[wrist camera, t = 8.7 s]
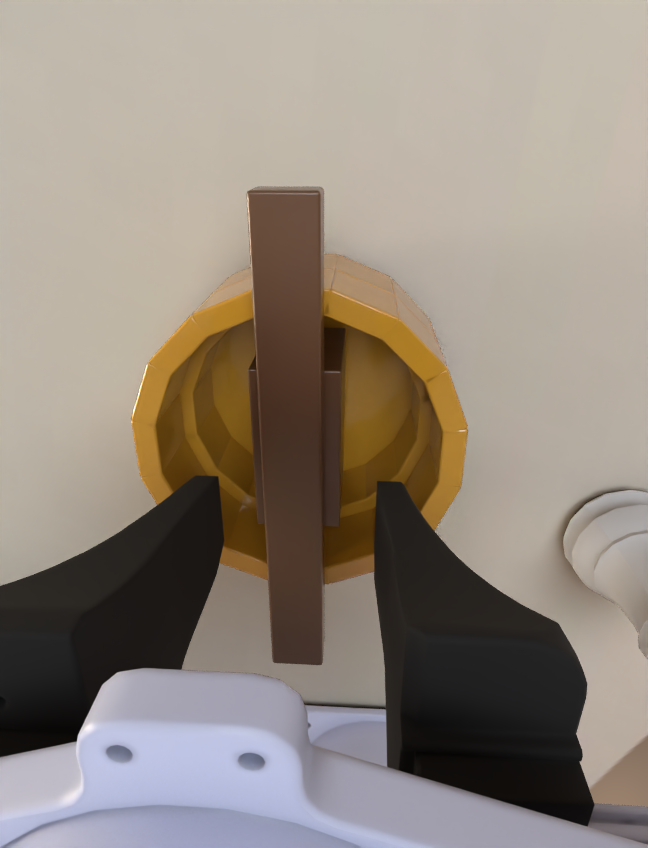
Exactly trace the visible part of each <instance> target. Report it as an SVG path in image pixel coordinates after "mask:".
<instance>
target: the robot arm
mask: <svg viewBox="0 0 648 848" xmlns="http://www.w3.org/2000/svg"><path fill="white" fill-rule="evenodd" d="M223 545H224V531H223V520H222V509H221V498H220V488H219V477H218V476H197V475H195V476H194V477H193V478H191V479H190V480H189V481H187V482H186V483H185V484H183V485H182V486H181V487H180V488H178V489H177V490H176V491H175V492H174V493H172V494H171V495H170V496H169V497H167V498H166V499H165V500H163V501H162V502H161V503H160V504H158V505H157V506H156V507H154V508H153V509H152V510H150V511H149V512H148V513H146V514H145V515H143V516H142V517H141V518H139V519H138V520H136V521H135V522H133V523H132V524H131V525H129V526H128V527H126V528H125V529H123V530H122V531H120V532H119V533H117V534H116V535H114V536H112V537H111V538H109V539H107V540H106V541H104V542H102V543H100V544H98V545H97V546H95V547H93V548H91V549H89V550H88V551H86V552H84V553H82V554H79V555H77V556H75V557H73V558H71V559H69V560H67V561H64V562H62V563H60V564H58V565H56V566H54V567H51V568H49V569H46V570H44V571H41V572H39V573H36V574H34V575H31V576H28V577H26V578H23V579H20V580H17V581H14V582H11V583H8V584H5V585H2V586H0V848H648V807H645V806H629V805H612V804H595V803H594V802H593V799H592V796H591V793H590V791H589V788H588V785H587V782H586V779H585V776H584V773H583V771H582V768H581V765H580V762H579V761H581V760H582V757H583V756H582V749H581V746H580V744H579V741H578V738H577V735H576V732H577V729H578V725H579V721H580V718H581V714H582V711H583V707H584V703H585V700H586V693H587V681H586V678H585V675H584V672H583V669H582V666H581V664H580V662H579V659H578V657H577V655H576V653H575V651H574V650H573V648H572V646H571V644H570V642H569V641H568V639H567V637H566V636H565V634H564V632H563V631H562V629H561V627H560V626H559V624H558V623H557V622H555V621H553V620H551V619H549V618H547V617H545V616H543V615H541V614H539V613H537V612H535V611H533V610H531V609H529V608H527V607H525V606H523V605H521V604H520V603H518V602H516V601H515V600H513V599H512V598H510V597H508V596H507V595H505V594H503V593H502V592H500V591H499V590H497V589H496V588H495V587H493V586H492V585H490V584H489V583H488V582H486V581H485V580H484V579H482V578H481V577H480V576H478V575H477V574H476V573H475V572H473V571H472V570H471V569H470V568H469V567H467V566H466V565H465V564H464V563H463V562H462V561H461V560H460V559H459V558H458V557H457V556H456V555H455V554H454V553H453V552H452V551H451V550H450V549H449V548H448V547H447V546H446V544H445V543H444V542H443V541H442V540H441V539H440V538H439V536H438V535H437V534H436V533H435V531H434V530H433V529H432V528H431V526H430V525H429V523H428V522H427V521H426V519H425V518H424V517H423V515H422V514H421V512H420V511H419V509H418V508H417V506H416V505H415V503H414V502H413V500H412V498H411V497H410V495H409V493H408V491H407V489H406V487H405V485H404V484H403V483H402V482H395V481H377V492H376V515H375V538H374V580H375V589H376V597H377V605H378V613H379V620H380V628H381V636H382V644H383V652H384V664H385V691H386V709H369V708H349V707H330V706H311V705H304V703H303V700H302V698H301V695H300V694H299V693H297V692H296V691H295V690H293V689H292V688H290V687H289V686H288V685H286V684H285V683H284V682H282V681H281V680H280V679H277V678H272V677H268V676H264V675H260V674H256V673H236V672H215V671H195V670H181V669H182V665H183V662H184V658H185V655H186V652H187V649H188V647H189V644H190V641H191V638H192V636H193V633H194V631H195V628H196V626H197V623H198V621H199V618H200V616H201V613H202V610H203V608H204V605H205V603H206V600H207V598H208V595H209V593H210V590H211V587H212V585H213V582H214V579H215V577H216V574H217V570H218V566H219V562H220V558H221V554H222V549H223Z"/></svg>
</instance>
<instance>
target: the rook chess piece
mask: <svg viewBox="0 0 648 848" xmlns="http://www.w3.org/2000/svg"><path fill="white" fill-rule="evenodd" d="M563 543H564V553H565V557H566V558H567V559H568V561H569V562H570V564H571V565H572V566H573V568H574V571H575V572H576V574H577V575H578V576H579V578H580V579H581V581H582V582H583V583H584V584H585V585H586V586H587V587H588V588H589V589H591V590H592V591H594V592H596V593H598V594H600V595H602V596H603V597H604V598H605V599H607V600H609V601H611V602H613V603H615V604H617V605H618V606H619V607H620V609H621V610H622V611H623V612H624V614H625V615H626V616H627V617H628V619H629V620H630V621H631V623H632V624H633V625H634V627H635V628H636V630H637V632H638V643H639V649H640V650H641V652H642V653H643V654H644V656H645V657H646V658H647V659H648V492H642V491H635V490H623V491H617V492H612V493H606V494H603V495H601V496H599V497H597V498H595V499H593V500H591V501H589V502H587V503H586V504H585V505H584V506H583V507H582V508H581V509H580V510H579V511H578V512H577V513H576V514H575V515H574V516H573V518H572V519H571V520H570V522H569V525H568V527H567V530H566V532H565V535H564V537H563Z"/></svg>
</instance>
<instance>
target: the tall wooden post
mask: <svg viewBox="0 0 648 848" xmlns="http://www.w3.org/2000/svg"><path fill="white" fill-rule="evenodd" d="M247 210H248V228H249V246H250V264H251V282H252V300H253V318H254V336H255V354H256V355H255V357H254V359H253V361H252V363H251V365H250V367H249V369H248V381H249V397H250V413H251V429H252V445H253V461H254V477H255V493H256V509H257V522H258V524H265V534H266V552H267V569H268V587H269V605H270V623H271V641H272V659H273V662H274V663H286V664H307V665H322V663H323V652H324V639H325V554H324V526H337V527H338V526H339V525H340V511H341V495H342V479H343V463H344V403H345V337H346V330H345V328H324V190H323V188H322V187H256V188H254V189H251V190H249V191H248V192H247Z"/></svg>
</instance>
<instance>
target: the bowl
mask: <svg viewBox="0 0 648 848" xmlns="http://www.w3.org/2000/svg"><path fill="white" fill-rule="evenodd" d="M324 328H345V330H346V337H345V403H344V463H343V479H342V495H341V511H340V525H339V526H338V527H337V526H324V554H325V584H329V583H335V582H339V581H342V580H346V579H349V578H353V577H357V576H360V575H364V574H367V573H371V572H374V538H375V515H376V492H377V481H395V482H402V483H403V484H404V485H405V487H406V489H407V491H408V493H409V495H410V497H411V498H412V500H413V502H414V503H415V505H416V506H417V508H418V509H419V511H420V512H421V514H422V515H423V517H424V518H425V519H426V521H427V522H428V523H429V525H430V526H431V528H432V529H433V530H435V529H436V527H437V526H438V524H439V522H440V521H441V519H442V517H443V516H444V514H445V513H446V511H447V509H448V508H449V506H450V505H451V503H452V501H453V500H454V498H455V497H456V495H457V493H458V492H459V490H460V488H461V487H460V486H461V484H462V477H463V469H464V460H465V452H466V444H467V435H468V429H467V426H468V425H467V423H466V420H465V417H464V414H463V411H462V408H461V405H460V402H459V399H458V396H457V393H456V391H455V388H454V385H453V382H452V379H451V376H450V373H449V370H448V368H447V365H446V362H445V360H444V357H443V354H442V352H441V349H440V346H439V343H438V341H437V338H436V335H435V333H434V330H433V327H432V325H431V322H430V319H429V318H428V316H427V315H426V314H425V313H424V312H423V311H422V310H421V309H420V308H419V307H418V305H417V304H416V303H415V302H414V301H413V300H412V299H411V298H410V297H409V296H408V295H407V294H406V293H405V292H404V290H403V289H402V288H401V287H400V286H399V285H398V284H397V283H396V282H395V281H394V280H393V279H392V278H390V277H389V276H387V275H385V274H383V273H380V272H378V271H376V270H373V269H371V268H369V267H366V266H364V265H362V264H360V263H357V262H355V261H353V260H350V259H348V258H346V257H344V256H341V255H339V256H338V255H337V254H324ZM255 355H256V354H255V336H254V318H253V300H252V282H251V267H249V268H247V269H244V270H242V271H240V272H237V273H235V274H233V275H231V276H230V277H228V278H227V279H226V280H225V281H224V282H223V283H222V284H221V285H220V286H219V287H218V288H217V289H216V290H215V291H214V292H213V293H212V294H211V295H210V296H209V297H208V298H207V299H206V300H205V301H204V302H203V303H202V304H201V305H200V306H199V307H198V308H197V309H196V310H195V311H194V312H193V313H192V314H191V315H190V316H189V317H188V319H187V320H186V321H185V322H184V323H183V324H182V325H181V326H180V327H179V328H178V329H177V331H176V332H175V333H174V334H173V335H172V336H171V337H170V338H169V339H168V340H167V341H166V343H165V344H164V345H163V346H162V347H161V348H160V349H159V350H158V351H157V352H156V354H155V355H154V356H153V357H152V358H151V359H150V360H149V362H148V364H147V365H146V369H145V372H144V376H143V379H142V383H141V386H140V390H139V393H138V396H137V400H136V403H135V407H134V410H133V414H132V417H131V420H132V429H133V435H134V441H135V447H136V453H137V459H138V465H139V472H140V476H141V478H142V481H143V482H144V484H145V486H146V487H147V489H148V490H149V492H150V494H151V495H152V497H153V498H154V500H155V502H156V503H157V505H158V504H160V503H161V502H162V501H163V500H165V499H166V498H167V497H169V496H170V495H171V494H172V493H174V492H175V491H176V490H177V489H178V488H180V487H181V486H182V485H183V484H185V483H186V482H187V481H189V480H190V479H191V478H193V477H194V476H195V475H197V476H218V477H219V488H220V498H221V509H222V520H223V531H224V545H223V549H222V554H221V558H220V562H219V563H221V564H224V565H226V566H229V567H232V568H235V569H238V570H240V571H243V572H246V573H249V574H251V575H254V576H257V577H260V578H263V579H265V580H268V569H267V552H266V534H265V524H258V522H257V509H256V493H255V477H254V461H253V445H252V429H251V413H250V397H249V381H248V369H249V367H250V365H251V363H252V361H253V359H254V357H255Z"/></svg>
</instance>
